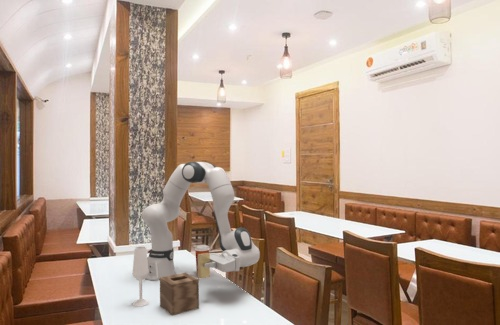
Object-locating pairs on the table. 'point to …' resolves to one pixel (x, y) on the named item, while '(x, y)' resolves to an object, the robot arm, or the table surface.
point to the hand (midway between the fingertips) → (202, 264)
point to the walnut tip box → (179, 293)
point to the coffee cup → (201, 252)
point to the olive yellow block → (202, 270)
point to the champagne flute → (140, 271)
